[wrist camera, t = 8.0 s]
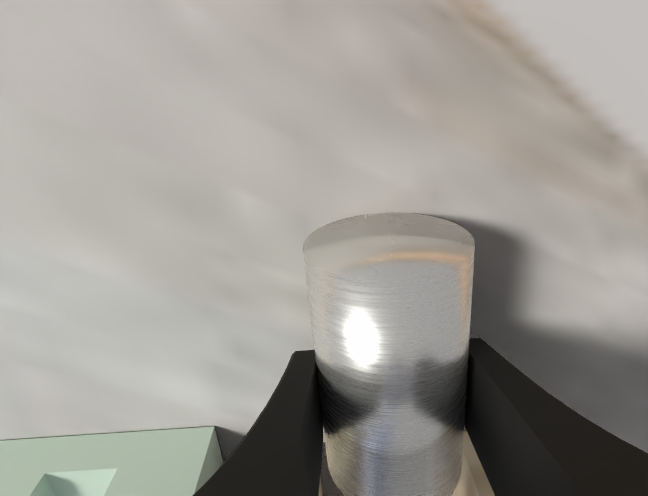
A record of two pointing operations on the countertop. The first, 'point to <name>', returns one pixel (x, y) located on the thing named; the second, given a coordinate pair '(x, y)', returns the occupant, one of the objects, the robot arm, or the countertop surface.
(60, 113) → the countertop surface
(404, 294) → the axle
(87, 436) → the v block
